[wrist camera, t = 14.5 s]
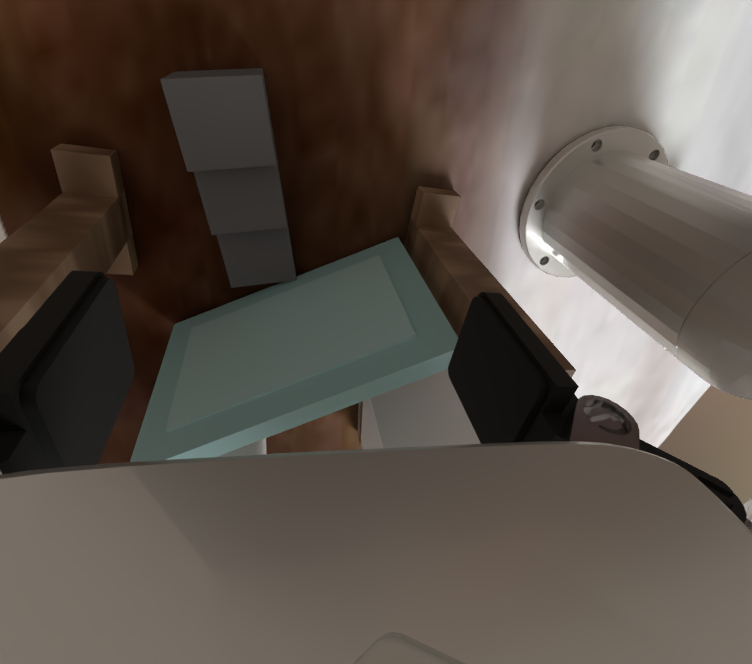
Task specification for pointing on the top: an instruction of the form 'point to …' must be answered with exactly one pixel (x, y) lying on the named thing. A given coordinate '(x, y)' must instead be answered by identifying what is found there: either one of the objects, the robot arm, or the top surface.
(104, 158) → the door frame
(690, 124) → the top surface
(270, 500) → the robot arm
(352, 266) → the door
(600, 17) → the top surface
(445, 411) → the white block
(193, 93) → the block
